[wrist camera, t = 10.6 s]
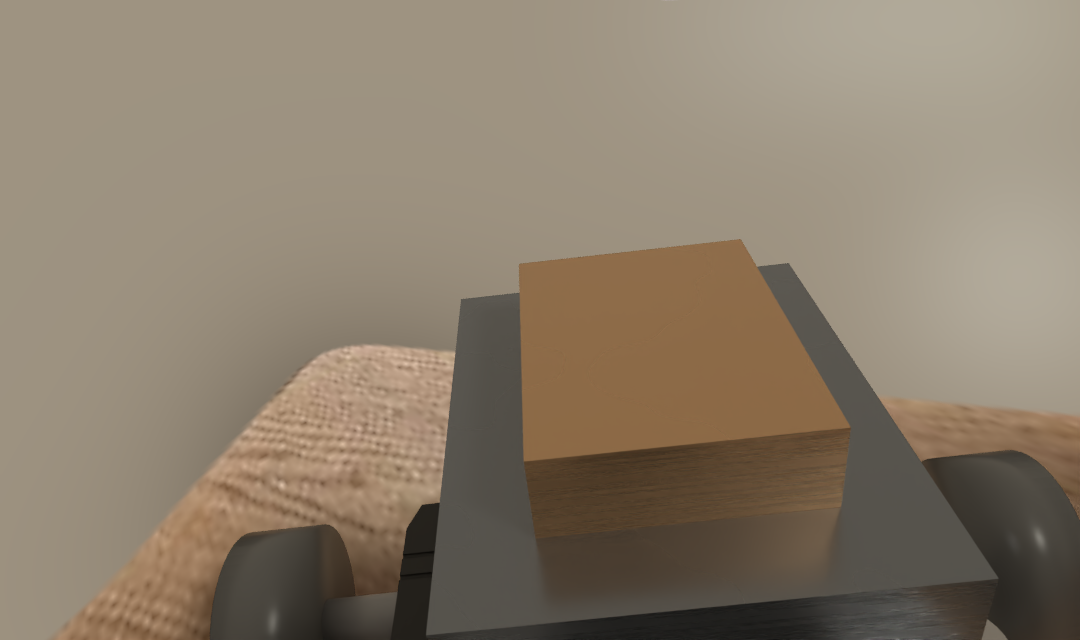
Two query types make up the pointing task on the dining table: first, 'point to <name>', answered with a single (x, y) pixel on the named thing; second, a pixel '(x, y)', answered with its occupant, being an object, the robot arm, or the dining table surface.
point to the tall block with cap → (683, 468)
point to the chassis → (965, 481)
